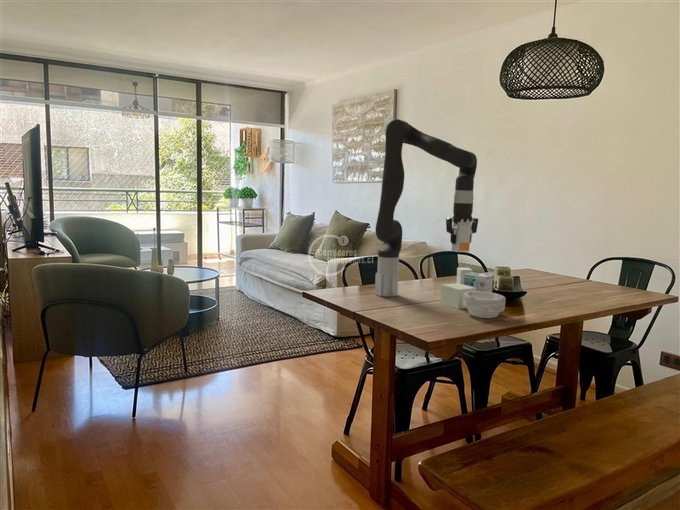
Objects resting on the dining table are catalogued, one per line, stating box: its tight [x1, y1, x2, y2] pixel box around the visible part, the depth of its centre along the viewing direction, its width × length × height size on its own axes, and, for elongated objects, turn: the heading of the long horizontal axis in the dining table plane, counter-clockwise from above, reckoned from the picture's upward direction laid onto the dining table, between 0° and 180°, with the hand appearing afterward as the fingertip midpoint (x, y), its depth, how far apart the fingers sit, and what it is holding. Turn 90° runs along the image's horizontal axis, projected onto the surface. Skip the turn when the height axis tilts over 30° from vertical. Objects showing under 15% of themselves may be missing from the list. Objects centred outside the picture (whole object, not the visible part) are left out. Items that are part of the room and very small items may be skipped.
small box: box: [456, 267, 474, 285], centre depth 231 cm, size 8×6×10 cm
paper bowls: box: [463, 291, 507, 319], centre depth 185 cm, size 15×15×8 cm
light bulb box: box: [464, 271, 494, 293], centre depth 215 cm, size 11×7×11 cm, turn 47°
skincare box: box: [451, 221, 472, 253], centre depth 198 cm, size 6×4×12 cm
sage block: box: [440, 282, 476, 310], centre depth 201 cm, size 9×11×8 cm
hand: (460, 243), depth 199 cm, fingers closed on skincare box, 6 cm apart
